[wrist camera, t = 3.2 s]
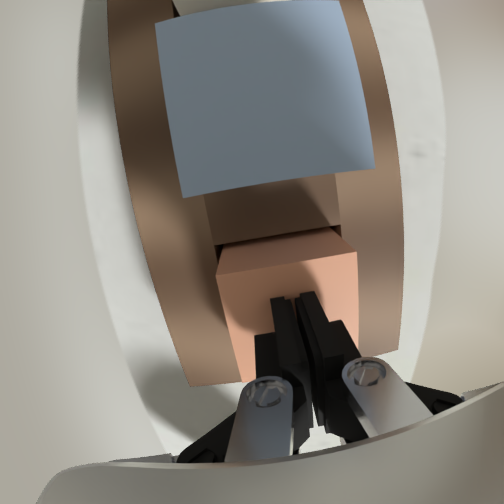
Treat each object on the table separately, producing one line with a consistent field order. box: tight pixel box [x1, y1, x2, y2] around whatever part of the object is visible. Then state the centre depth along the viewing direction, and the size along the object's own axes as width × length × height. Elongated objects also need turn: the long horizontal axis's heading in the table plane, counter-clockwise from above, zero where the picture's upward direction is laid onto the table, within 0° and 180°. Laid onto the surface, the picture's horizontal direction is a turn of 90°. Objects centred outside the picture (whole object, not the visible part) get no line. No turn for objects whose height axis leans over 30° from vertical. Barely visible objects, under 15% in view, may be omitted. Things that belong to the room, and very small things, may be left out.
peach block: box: [216, 226, 359, 383], centre depth 14 cm, size 5×5×6 cm
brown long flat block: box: [107, 0, 404, 387], centre depth 14 cm, size 26×12×5 cm, turn 10°
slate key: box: [155, 0, 375, 198], centre depth 9 cm, size 5×5×6 cm
